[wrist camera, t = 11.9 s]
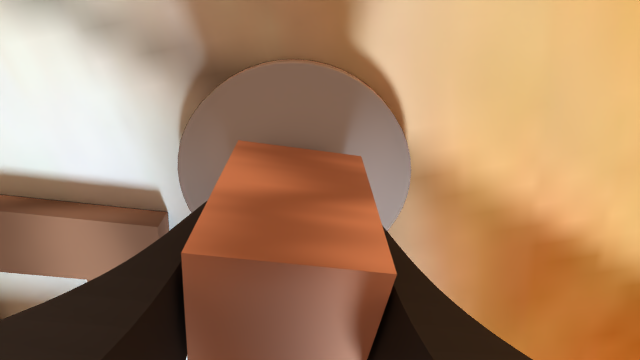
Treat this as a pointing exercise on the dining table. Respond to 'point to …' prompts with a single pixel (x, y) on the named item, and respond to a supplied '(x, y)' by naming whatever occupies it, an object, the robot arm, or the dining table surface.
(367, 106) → the saucer
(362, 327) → the block
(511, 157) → the dining table surface
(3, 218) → the puzzle board
